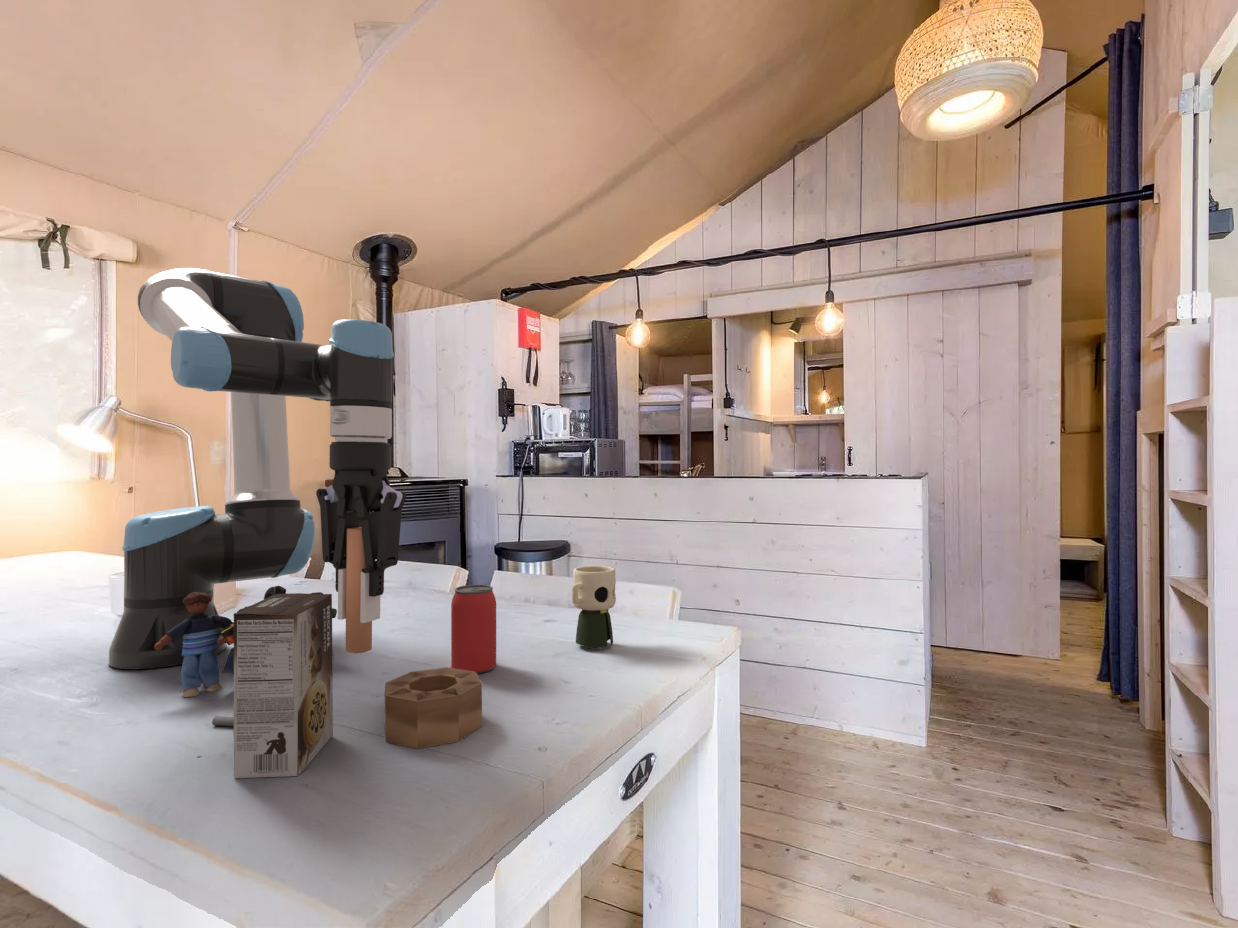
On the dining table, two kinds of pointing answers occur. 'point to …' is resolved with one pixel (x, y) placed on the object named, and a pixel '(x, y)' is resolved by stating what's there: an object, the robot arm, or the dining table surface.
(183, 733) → the dining table surface
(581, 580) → the character mug
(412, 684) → the bead
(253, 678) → the coffee box
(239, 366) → the robot arm
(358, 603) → the peach rounded rod
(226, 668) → the doll family
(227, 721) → the grey thin rod
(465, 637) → the beer can
